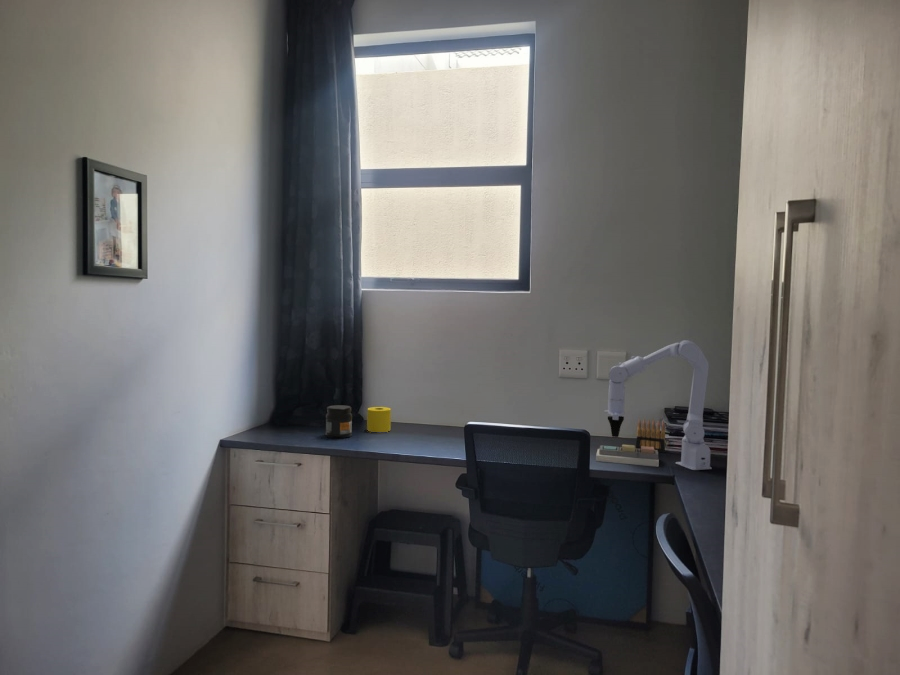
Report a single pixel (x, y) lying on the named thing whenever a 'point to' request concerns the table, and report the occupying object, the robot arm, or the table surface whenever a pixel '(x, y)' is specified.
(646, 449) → the terracotta key
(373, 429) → the tape roll
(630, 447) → the ochre key
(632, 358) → the robot arm
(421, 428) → the table surface
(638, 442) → the ammunition clip
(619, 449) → the button pad
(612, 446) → the teal key
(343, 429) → the supplement container
